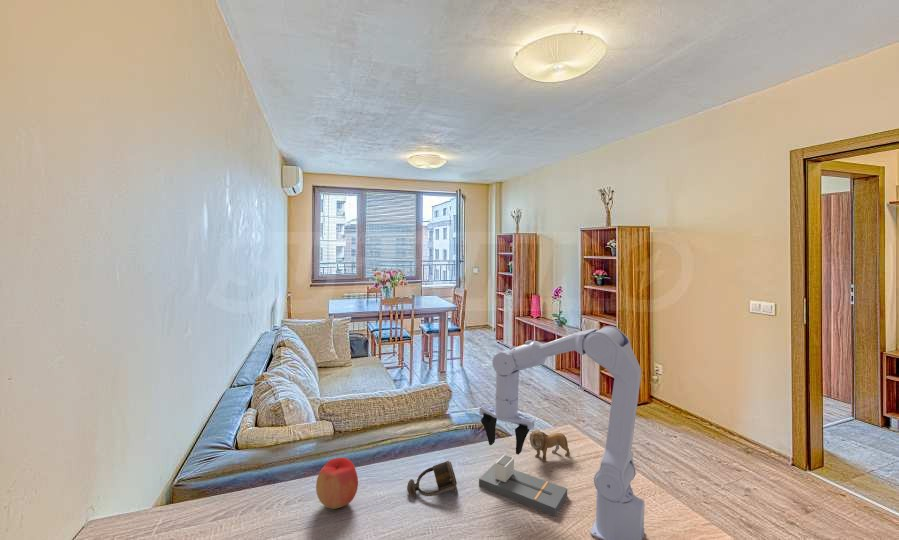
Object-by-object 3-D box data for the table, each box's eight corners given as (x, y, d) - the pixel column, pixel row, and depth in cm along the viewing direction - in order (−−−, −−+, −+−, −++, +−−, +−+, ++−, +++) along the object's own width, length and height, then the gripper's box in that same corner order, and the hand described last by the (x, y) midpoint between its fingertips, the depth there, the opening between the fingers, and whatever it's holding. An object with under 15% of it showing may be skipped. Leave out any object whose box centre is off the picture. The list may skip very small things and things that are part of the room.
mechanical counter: (457, 486, 90) (463, 455, 100) (404, 475, 92) (415, 446, 102) (454, 510, 92) (461, 478, 102) (403, 499, 94) (414, 468, 104)
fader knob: (513, 473, 101) (514, 457, 101) (505, 482, 97) (505, 466, 97) (503, 469, 103) (503, 454, 103) (494, 478, 99) (495, 462, 98)
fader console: (567, 496, 95) (567, 488, 95) (555, 516, 88) (555, 507, 88) (495, 469, 106) (495, 462, 106) (478, 486, 99) (479, 478, 99)
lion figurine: (536, 467, 108) (537, 436, 107) (524, 458, 113) (525, 428, 112) (574, 455, 115) (575, 425, 114) (562, 447, 119) (562, 418, 119)
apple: (320, 494, 95) (319, 454, 95) (359, 490, 97) (359, 451, 96) (313, 520, 86) (312, 477, 85) (356, 516, 87) (356, 473, 87)
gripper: (539, 398, 98) (537, 450, 99) (488, 385, 106) (487, 433, 107) (529, 407, 92) (527, 462, 93) (476, 393, 100) (474, 444, 101)
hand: (505, 448), depth 99 cm, fingers open, 7 cm apart
